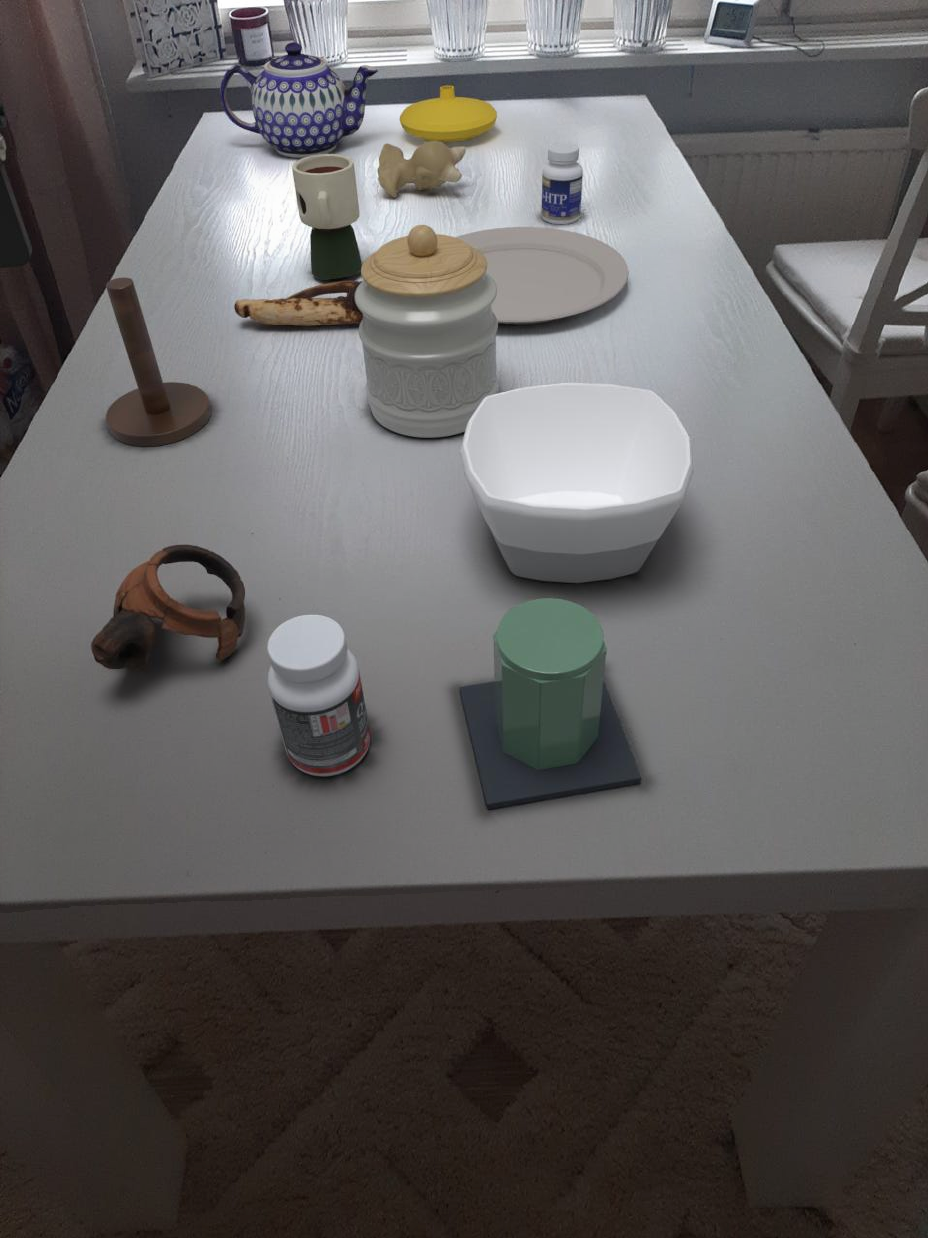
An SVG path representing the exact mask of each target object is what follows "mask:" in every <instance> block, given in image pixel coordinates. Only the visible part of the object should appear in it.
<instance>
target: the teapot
mask: <svg viewBox="0 0 928 1238" xmlns="http://www.w3.org/2000/svg"><path fill="white" fill-rule="evenodd" d="M302 49H303V46H302V45H301V44H300V43H298V42H295V41H294V42H289V43H287V44H286V45H285V46H284V51H285V52H286V54H284V55H281V56H278V57H274V58H272V59H271V60H269V61H267V62H266V63H265V64H264V65H263V70H262V71H261V72H260V74H259V75H257V76H255V75H254V74H253V73H251V72H250V71H248V69H246V68H245V67H243V66H241V65H240V64H234V65H231V66H230V67H229V68H228V69H227V70H226V71H225V73H224V75H223V77H222V80H221V82H220V87H219V95H220V96H219V98H220V103H221V106H222V109H223V111H224V113H225V115H226V116H227V118H228V119H229V120H230V121H231V122H232V123H233V124H234V125H236V126H237V127H239V128H241V129H242V130H246V131H249V132H251V133H255V134H258V135H260V136H261V137H262V139H263V140H265V141H266V142H267V143H268V144H269V145H270V146H272V147H273V148H274V149H275V151H276V152H277V153H278V154H279V155H280V156H283V157H287V158H295V159H302V158H305V157H309V156H313V155H320V154H330V153H331V152H333V151H335V149H336V148H337V143H339V142H340V141H341V140H342V139H343V138H344V137H348V136H351V135H354V134H355V133H356V132H357V131H359V129H360V127H361V126H362V124H363V122H364V117H365V111H366V96H367V95H366V93H367V85H368V81H369V79H370V78H371V77H373V76H374V75H375V74H376V73H378V72H379V70H378V69H377V68H375V66H371V65H367V64H363V65H360V66H359V68H358V69H357V71H356V73H355V75H354V77H353V82H352V85H351V87H350V88H348V89H346V86H345V84H344V82H343V80H342V78H341V77H340V76H339V75H338V73H336V72H335V71H334V70H332V69H331V68H330V67H329V66H328V62H327V60H326V59H325V58H323V57H320V56H317V55H311V54H305V53H302ZM234 74H239V75H241V76H242V77H243V78H244V81H245V82H246V84H247V87H248V89H249V91H250V93H251V105H252V113H253V119H254V122H247V121H244V120H242V119H241V118H239V117H238V116H237V115H236V114H235V113H234V112H233V111H232V109H231V108H230V106H229V103H228V99H227V88H228V85H229V83H230V80H231V78H232V77H233V76H234Z"/></svg>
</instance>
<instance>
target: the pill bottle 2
mask: <svg viewBox="0 0 928 1238" xmlns="http://www.w3.org/2000/svg"><path fill="white" fill-rule="evenodd" d="M579 157H580V147H579V145H578V144H576V143H574V142H573V143H572V142H565V141H564V142H556V143H552V144H550V145H549V146H548V148H547V161H548V162H547V163H546V164H544V166H543V167H542V172H541V174H542V175H541V208H540V209H541V213H540V215H541V218H542V220H544V221H545V222H548V223H549V224H553V225H567V224H572V223H575V222H578V220H579V219H580V217H581V213H582V212H581V211H582V195H583V194H582V193H583V178H584V177H583V175H584V171H583V170H584V169H583V167H582V164H580V163H579V162H578V161H579Z"/></svg>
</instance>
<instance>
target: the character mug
mask: <svg viewBox="0 0 928 1238" xmlns="http://www.w3.org/2000/svg"><path fill="white" fill-rule="evenodd" d="M354 162H355V161H354V160H353V158H351V157H350V156H347V155H344V154H339V153H327V154H320V155H313V156H309V157H305V158H299V159H298V160H296V161H294V162H293V163H292V164H291V170H292V177H293V183H294V184H293V185H294V189H295V198H296V204H297V209H298V216H299V219H300V222H301V223H302V224H303V225H305V226H307V227H310V228H311V231H310V236H309V238H310V246H309V247H310V269H311V270H310V271H311V274H312V276H313V277H314V278H315V279H319V280H323V281H326V280H336V281H337V280H339V279H341V278H347V277H352V276H354V275H358V274H359V273H361V267H362V264H363V261H362V258H361V257H362V256H361V253H360V248H359V245H358V240H357V237H356V233H355V229H354V228H353V226H352V224H354V223H355V222H357V221H358V219H359V218H360V204H359V196H358V188H357V178H356V168H355V163H354Z"/></svg>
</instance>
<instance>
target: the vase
mask: <svg viewBox="0 0 928 1238" xmlns="http://www.w3.org/2000/svg"><path fill="white" fill-rule="evenodd" d="M497 117H498V111H497V110H496V109H495V108H494V107H493V105H492V104H490V103H489V102H487V101H485V100H482V99H478V98H472V97H464V96H463V97H462V96H456V95H455V86H453V85H442V86H440V87H439V97H434V98H429V99H424V100H420V101H417V102H414V103H411V104H410V105H408V106H407V107H405V108H404V109H403V111H402V112H401V113H400V115H399V123H400V125H401V128H402V129H403V130H404V132H406V133H408V134H409V135H412V136H413V137H416V138H418V139H420V140H423V141H426V142H429V141H439V142H442V143H443V144H446V143H458V142H464V141H469V140H472V139H475V138H477V137H479V136H480V135H482V134H483V133H485V132H487V131H489V130H490V129H492V128H493V127H494V126H495V124H496V121H497Z"/></svg>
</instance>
